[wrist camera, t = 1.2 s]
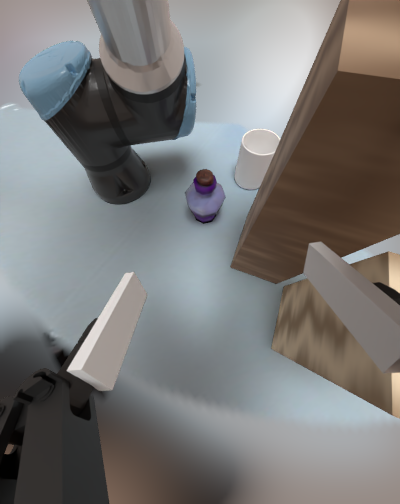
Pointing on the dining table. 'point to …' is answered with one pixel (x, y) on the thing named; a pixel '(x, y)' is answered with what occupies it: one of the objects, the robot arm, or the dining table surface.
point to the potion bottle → (205, 196)
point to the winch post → (334, 151)
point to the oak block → (337, 337)
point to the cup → (255, 157)
